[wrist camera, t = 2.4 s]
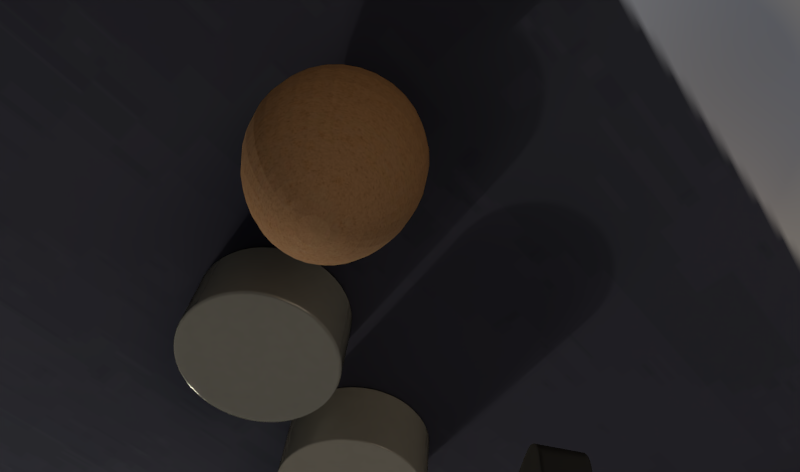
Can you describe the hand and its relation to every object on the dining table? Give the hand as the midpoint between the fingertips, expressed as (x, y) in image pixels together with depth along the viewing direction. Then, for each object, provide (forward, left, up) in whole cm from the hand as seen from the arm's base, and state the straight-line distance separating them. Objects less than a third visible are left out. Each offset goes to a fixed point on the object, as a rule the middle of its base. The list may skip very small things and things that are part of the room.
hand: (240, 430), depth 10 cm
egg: (0, 0, -12) cm, 12 cm away
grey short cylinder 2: (+7, +10, -11) cm, 17 cm away
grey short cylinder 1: (+6, +4, -11) cm, 13 cm away
